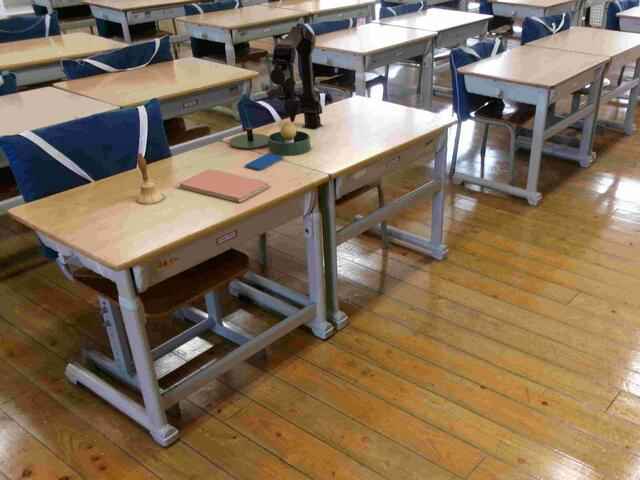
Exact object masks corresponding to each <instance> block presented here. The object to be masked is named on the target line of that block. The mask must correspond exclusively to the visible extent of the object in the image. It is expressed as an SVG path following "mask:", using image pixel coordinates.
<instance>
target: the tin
mask: <svg viewBox="0 0 640 480" xmlns="http://www.w3.org/2000/svg"><path fill="white" fill-rule="evenodd" d="M268 136H269V137H268V145H267V146H268V150H269V153H272V154H277V155H282V156H283V157H286V156H287V157H288V156H289V157H291V156H292V157H293V156H299V155H303V154H305V153H307V152H309V151H310V150H311V137H310V134H309V133H308V132H305V131H301V130H296V135H295V137H294V138H293V140H294V143H285V139H284V138H283V136H282V135H281V132H280V131H276V132H273V133H271V134H269V135H268Z"/></svg>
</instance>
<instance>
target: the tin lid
mask: <svg viewBox="0 0 640 480" xmlns="http://www.w3.org/2000/svg"><path fill="white" fill-rule="evenodd" d="M268 137H269V135H267V134H261V133H254V132H253V128H252V127H247V128H246V133H245V134H239V135H237V136H234V137H231V139H229V141H228V143H229V145H230V146H231V147H233V148H237V149H241V150H242V149H243V150H251V149H260V148H264V147H266V146H269V145H268Z"/></svg>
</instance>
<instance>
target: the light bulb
mask: <svg viewBox="0 0 640 480" xmlns="http://www.w3.org/2000/svg"><path fill="white" fill-rule="evenodd" d="M279 130H280V131H279V132H281V135H282V136H283V138H284V139H285V143H294V140H293V138H294V137H295V135H296V131H297V128H296V126H295V124H293V123H292V122H284V123H283V124H282V125H281V126H280V129H279Z"/></svg>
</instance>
